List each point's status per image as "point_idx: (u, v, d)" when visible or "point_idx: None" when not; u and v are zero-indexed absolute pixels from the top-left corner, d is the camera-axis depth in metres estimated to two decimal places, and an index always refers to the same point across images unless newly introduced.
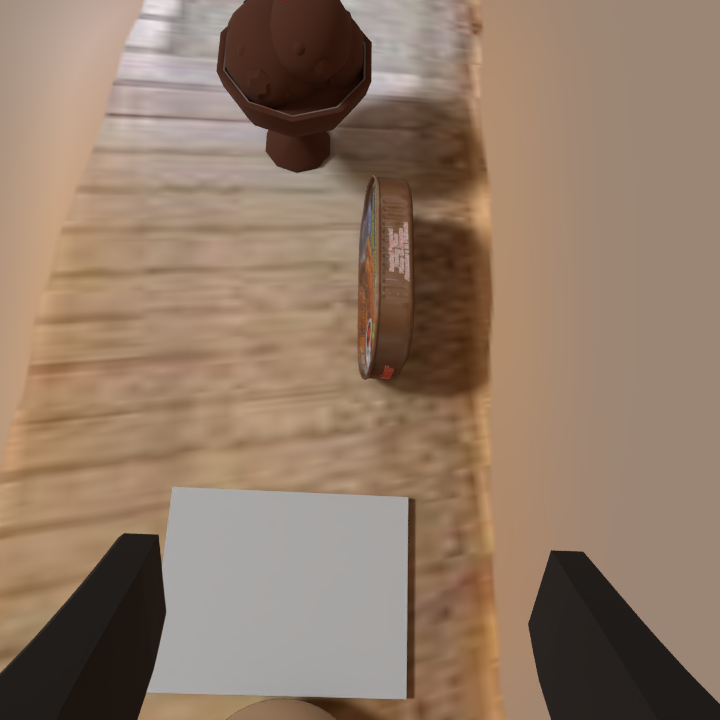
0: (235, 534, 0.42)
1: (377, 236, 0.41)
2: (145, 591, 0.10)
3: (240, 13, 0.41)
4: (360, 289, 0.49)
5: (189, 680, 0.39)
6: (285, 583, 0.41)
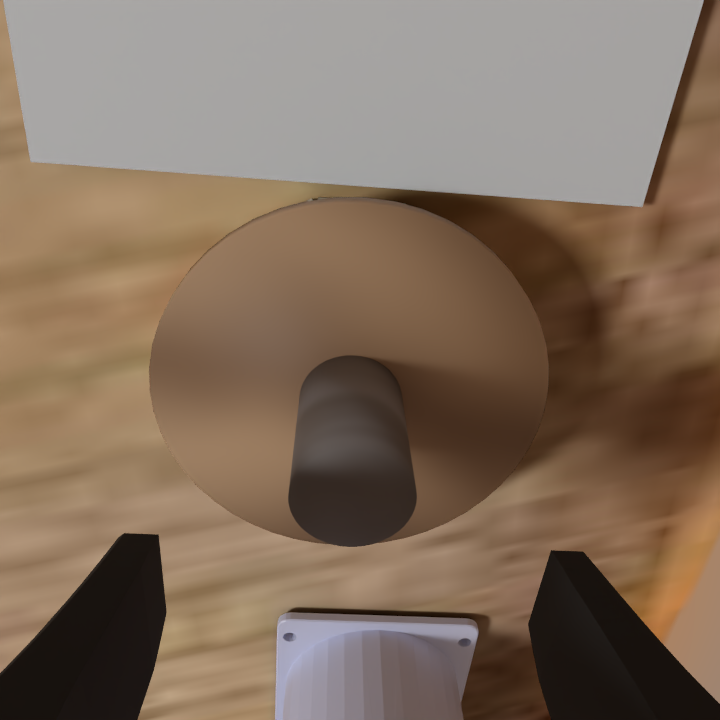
0: None
1: None
2: (145, 591, 0.10)
3: None
4: None
5: (129, 140, 0.16)
6: None
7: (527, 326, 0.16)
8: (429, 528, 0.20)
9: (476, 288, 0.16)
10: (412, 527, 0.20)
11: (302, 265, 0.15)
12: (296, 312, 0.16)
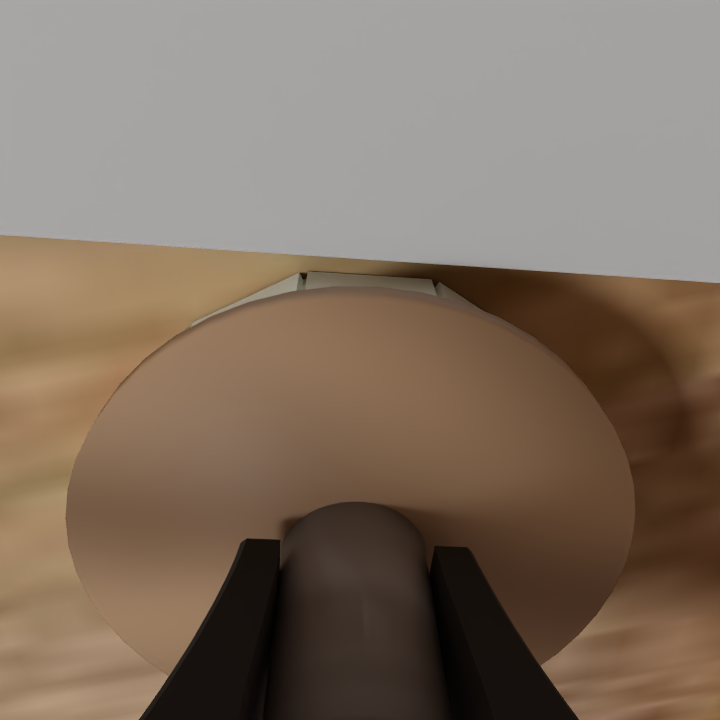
0: None
1: None
2: (275, 596, 0.10)
3: None
4: None
5: (30, 197, 0.11)
6: None
7: (608, 463, 0.11)
8: None
9: (538, 415, 0.11)
10: None
11: (282, 386, 0.10)
12: (274, 447, 0.11)
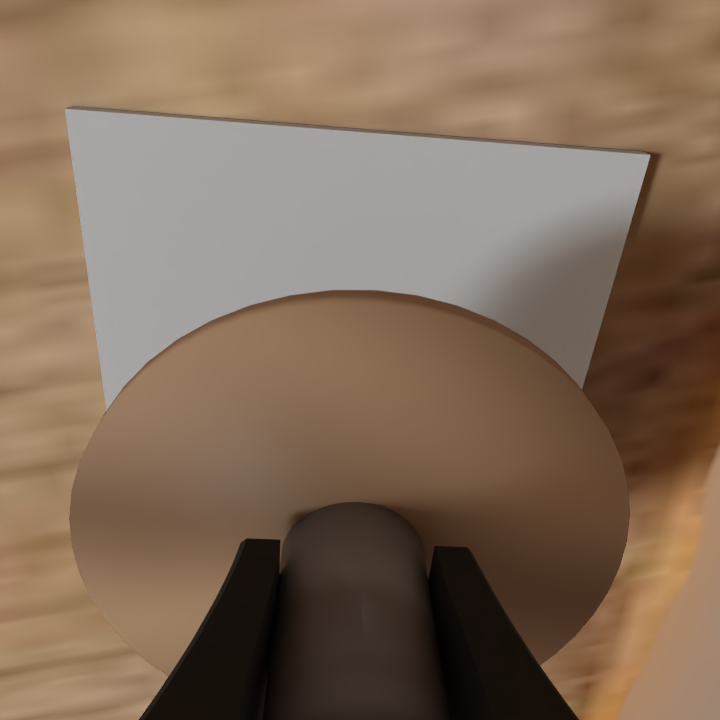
0: (237, 228, 0.18)
1: None
2: (275, 595, 0.10)
3: None
4: None
5: None
6: None
7: (602, 463, 0.11)
8: None
9: (533, 415, 0.11)
10: None
11: (282, 387, 0.11)
12: (274, 448, 0.11)
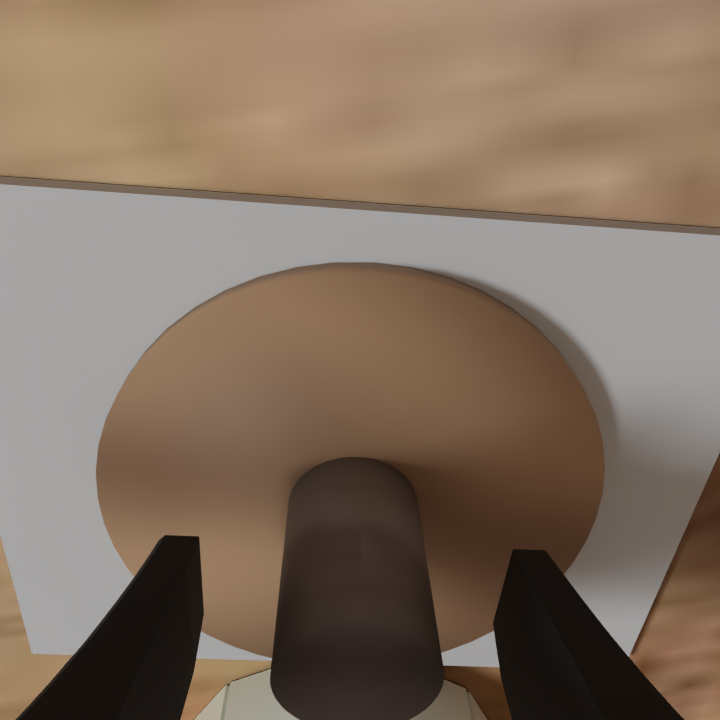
0: None
1: None
2: (189, 593, 0.10)
3: None
4: None
5: None
6: None
7: (579, 421, 0.13)
8: (449, 648, 0.16)
9: (516, 376, 0.12)
10: None
11: (289, 350, 0.12)
12: (282, 407, 0.12)
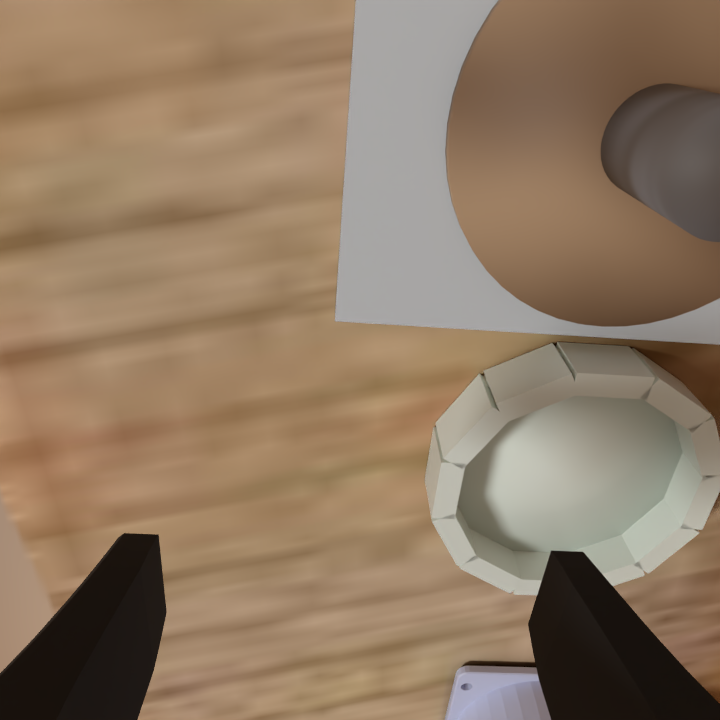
0: None
1: None
2: (145, 591, 0.10)
3: None
4: None
5: (419, 305, 0.19)
6: None
7: None
8: (699, 305, 0.19)
9: None
10: (681, 305, 0.19)
11: None
12: (622, 27, 0.15)
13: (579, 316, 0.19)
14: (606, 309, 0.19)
